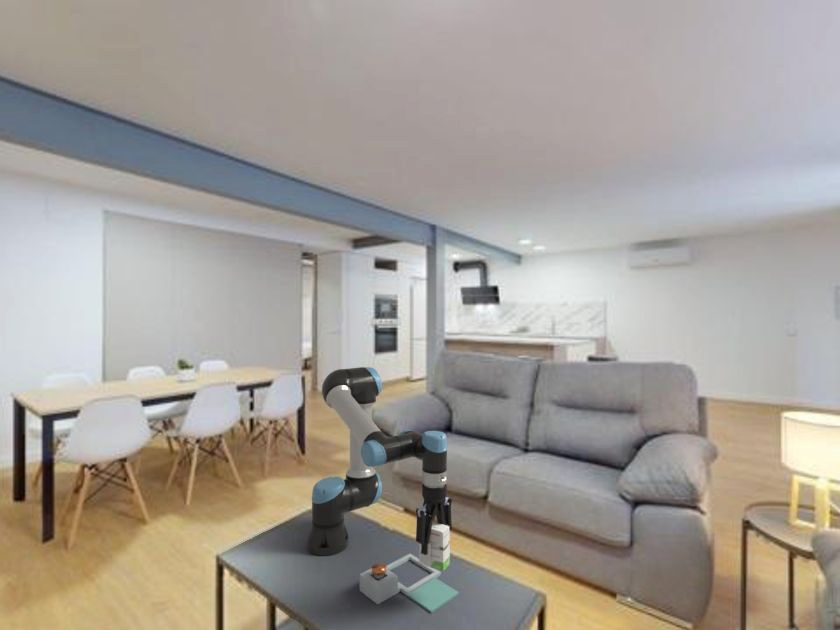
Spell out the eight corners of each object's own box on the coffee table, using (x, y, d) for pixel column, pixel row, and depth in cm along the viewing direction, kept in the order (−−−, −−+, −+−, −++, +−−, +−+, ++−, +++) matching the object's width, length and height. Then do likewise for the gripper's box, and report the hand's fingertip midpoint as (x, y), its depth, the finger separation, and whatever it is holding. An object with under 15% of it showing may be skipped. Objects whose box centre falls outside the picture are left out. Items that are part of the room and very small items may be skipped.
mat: (408, 596, 130) (408, 594, 130) (435, 579, 139) (435, 577, 139) (431, 613, 123) (431, 611, 123) (459, 594, 132) (459, 592, 132)
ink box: (450, 564, 131) (450, 525, 131) (442, 572, 127) (442, 532, 126) (426, 555, 135) (426, 518, 135) (418, 563, 131) (418, 525, 131)
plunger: (368, 586, 133) (368, 567, 133) (380, 580, 136) (380, 561, 136) (377, 593, 130) (377, 573, 130) (388, 586, 133) (389, 567, 133)
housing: (354, 585, 135) (354, 570, 135) (410, 556, 152) (410, 542, 152) (384, 609, 125) (384, 592, 125) (440, 575, 141) (440, 560, 141)
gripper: (420, 496, 122) (420, 578, 122) (463, 478, 135) (463, 552, 135) (403, 488, 127) (402, 566, 127) (446, 472, 140) (446, 543, 140)
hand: (434, 559), depth 131 cm, fingers closed on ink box, 6 cm apart
